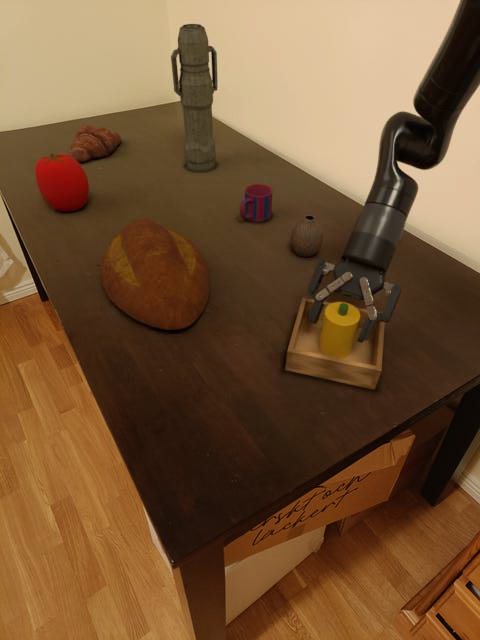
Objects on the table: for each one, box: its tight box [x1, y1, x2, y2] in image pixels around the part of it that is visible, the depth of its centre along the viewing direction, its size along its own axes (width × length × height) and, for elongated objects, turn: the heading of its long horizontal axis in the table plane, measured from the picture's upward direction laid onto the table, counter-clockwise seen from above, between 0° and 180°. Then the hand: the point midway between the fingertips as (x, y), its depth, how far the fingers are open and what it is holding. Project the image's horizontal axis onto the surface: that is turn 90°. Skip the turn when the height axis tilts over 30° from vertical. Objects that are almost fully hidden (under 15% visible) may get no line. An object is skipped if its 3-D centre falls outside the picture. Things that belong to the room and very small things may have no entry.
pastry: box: [68, 125, 122, 163], centre depth 133 cm, size 17×15×8 cm
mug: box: [239, 183, 273, 223], centre depth 104 cm, size 7×10×7 cm
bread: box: [99, 218, 211, 331], centre depth 83 cm, size 21×33×12 cm, turn 21°
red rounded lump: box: [34, 152, 90, 213], centre depth 106 cm, size 13×11×14 cm
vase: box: [290, 214, 324, 258], centre depth 93 cm, size 7×7×9 cm
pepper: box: [319, 301, 360, 359], centre depth 71 cm, size 6×6×10 cm
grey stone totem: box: [170, 23, 219, 172], centre depth 116 cm, size 9×12×35 cm
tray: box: [284, 297, 386, 390], centre depth 73 cm, size 15×14×5 cm
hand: (336, 332), depth 70 cm, fingers open, 7 cm apart
